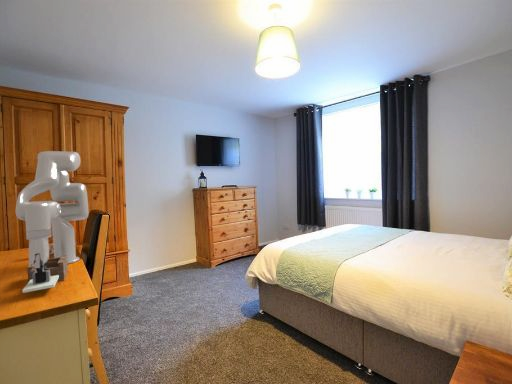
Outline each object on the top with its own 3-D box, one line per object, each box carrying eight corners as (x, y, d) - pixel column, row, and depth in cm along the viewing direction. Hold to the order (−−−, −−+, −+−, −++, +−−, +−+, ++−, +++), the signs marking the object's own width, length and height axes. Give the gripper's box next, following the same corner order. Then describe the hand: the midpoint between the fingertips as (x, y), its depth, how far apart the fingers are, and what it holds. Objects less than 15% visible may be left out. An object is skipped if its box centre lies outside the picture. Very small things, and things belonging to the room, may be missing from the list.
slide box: (35, 276, 121) (34, 259, 121) (67, 271, 127) (66, 255, 127) (28, 286, 109) (27, 267, 108) (64, 280, 115) (63, 262, 114)
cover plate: (30, 282, 107) (30, 269, 107) (58, 277, 112) (58, 265, 112) (22, 292, 96) (21, 279, 96) (54, 287, 101) (53, 274, 101)
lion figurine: (34, 259, 150) (33, 243, 150) (29, 258, 153) (28, 243, 152) (62, 252, 164) (62, 238, 163) (58, 252, 166) (57, 237, 166)
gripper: (31, 232, 109) (34, 276, 109) (20, 238, 95) (24, 289, 95) (54, 230, 112) (56, 273, 113) (47, 236, 98) (50, 285, 99)
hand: (42, 280), depth 104 cm, fingers closed on cover plate, 3 cm apart
